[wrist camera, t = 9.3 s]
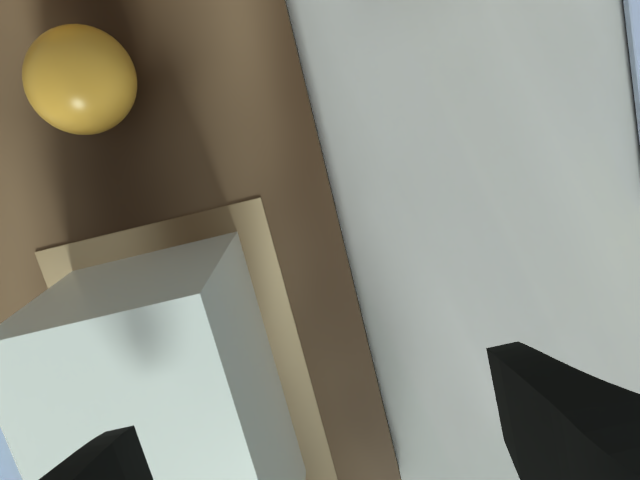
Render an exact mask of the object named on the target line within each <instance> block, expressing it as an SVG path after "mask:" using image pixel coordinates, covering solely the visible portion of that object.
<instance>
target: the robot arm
mask: <svg viewBox="0 0 640 480" xmlns="http://www.w3.org/2000/svg"><path fill="white" fill-rule="evenodd" d="M623 3H624V12H625V20H626V29H627V38H628V47H629V55H630V64H631V73H632V82H633V90H634V99H635V108H636V116H637V125H638V134H639V143H640V0H623ZM486 349H487V354H488V359H489V364H490V369H491V375H492V380H493V385H494V390H495V395H496V401H497V406H498V411H499V416H500V421H501V427H502V432H503V437H504V441H505V444H506V446H507V448H508V451H509V453H510V456H511V458H512V461H513V463H514V466H515V468H516V471H517V473H518V475H519V478H520V480H640V394H638V393H635V392H632V391H629V390H627V389H624V388H621V387H619V386H616V385H614V384H611V383H608V382H606V381H603V380H601V379H598V378H596V377H594V376H591V375H589V374H587V373H584V372H582V371H580V370H578V369H575V368H573V367H571V366H569V365H567V364H565V363H563V362H560V361H558V360H556V359H554V358H552V357H550V356H548V355H546V354H544V353H542V352H540V351H538V350H536V349H534V348H532V347H529V346H527V345H525V344H523V343H520V342H514V343H509V344H504V345H500V346H495V347H491V348H486ZM39 480H153V477H152V474H151V471H150V469H149V466H148V463H147V460H146V458H145V455H144V452H143V449H142V446H141V444H140V441H139V438H138V435H137V433H136V430H135V427H134V425H133V426H129V427H124V428H120V429H115V430H110V431H106V432H104V433H102V434H100V435H99V436H97V437H95V438H94V439H92V440H91V441H89V442H88V443H86V444H85V445H84V446H82V447H81V448H79V449H78V450H77V451H75V452H74V453H73V454H71V455H70V456H69V457H67V458H66V459H65V460H63V461H62V462H61V463H60V464H58V465H57V466H56V467H54V468H53V469H52V470H50V471H49V472H48V473H47V474H45V475H44V476H43V477H41V478H40V479H39Z"/></svg>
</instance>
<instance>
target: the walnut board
mask: <svg viewBox="0 0 640 480" xmlns="http://www.w3.org/2000/svg"><path fill="white" fill-rule="evenodd" d="M66 24H82V25H88V26H92V27H95V28H97V29H100V30H102V31H104V32H106V33H108V34H109V35H110V36H112V37H113V38H114V39H116V40H117V41H118V42H119V43H120V44H121V45H122V46H123V48H124V49H125V50H126V51H127V53H128V54H129V56H130V58H131V60H132V62H133V65H134V67H135V71H136V75H137V94H136V98H135V102H134V104H133V106H132V108H131V110H130V112H129V113H128V115H127V116H126V117H125V118H124V119H123V120H122V121H121V122H120V123H119V124H118V125H116V126H115V127H113V128H111V129H109V130H107V131H105V132H102V133H98V134H93V135H77V134H72V133H68V132H65V131H62V130H59V129H57V128H55V127H53V126H52V125H50V124H49V123H47V122H46V121H45V120H44V119H43V118H41V117H40V116H39V115H38V114H37V112H36V111H35V110H34V109H33V107H32V106H31V104H30V102H29V101H28V99H27V96H26V94H25V91H24V88H23V82H22V65H23V61H24V58H25V55H26V53H27V51H28V49H29V47H30V46H31V44H32V43H33V42H34V41H35V40H36V39H37V38H38V37H39V36H40V35H41V34H43V33H44V32H46V31H48V30H49V29H51V28H54V27H57V26H60V25H66ZM233 232H238V236H239V239H240V243H241V246H242V250H243V253H244V257H245V260H246V264H247V267H248V271H249V274H250V278H251V281H252V284H253V288H254V291H255V295H256V298H257V302H258V305H259V309H260V312H261V316H262V319H263V323H264V326H265V330H266V333H267V337H268V340H269V344H270V347H271V351H272V354H273V358H274V361H275V364H276V368H277V371H278V375H279V378H280V382H281V385H282V389H283V392H284V396H285V399H286V403H287V406H288V410H289V413H290V417H291V420H292V424H293V427H294V431H295V434H296V438H297V441H298V444H299V448H300V451H301V455H302V458H303V462H304V465H305V469H306V479H305V480H401V476H400V471H399V467H398V463H397V459H396V455H395V451H394V446H393V442H392V438H391V434H390V430H389V426H388V422H387V418H386V413H385V409H384V405H383V401H382V397H381V393H380V389H379V385H378V380H377V376H376V372H375V368H374V364H373V360H372V356H371V352H370V348H369V343H368V339H367V335H366V331H365V327H364V323H363V319H362V315H361V310H360V306H359V302H358V298H357V294H356V290H355V286H354V282H353V277H352V273H351V269H350V265H349V261H348V257H347V253H346V249H345V244H344V240H343V236H342V232H341V228H340V224H339V220H338V216H337V211H336V207H335V203H334V199H333V195H332V191H331V187H330V183H329V179H328V174H327V170H326V166H325V162H324V158H323V154H322V150H321V146H320V141H319V137H318V133H317V129H316V125H315V121H314V117H313V113H312V108H311V104H310V100H309V96H308V92H307V88H306V84H305V80H304V75H303V71H302V67H301V63H300V59H299V55H298V51H297V47H296V43H295V38H294V34H293V30H292V26H291V22H290V18H289V14H288V10H287V5H286V1H285V0H0V324H1V323H2V322H3V321H5V320H6V319H8V318H9V317H10V316H12V315H13V314H14V313H16V312H17V311H18V310H20V309H21V308H23V307H24V306H25V305H27V304H28V303H29V302H31V301H32V300H34V299H35V298H36V297H38V296H39V295H40V294H42V293H43V292H44V291H46V290H47V289H49V288H50V287H51V286H53V285H54V284H55V283H57V282H58V281H59V280H61V279H62V278H64V277H65V276H66V275H68V274H69V273H70V272H72V271H75V270H79V269H83V268H87V267H91V266H95V265H100V264H104V263H108V262H112V261H116V260H120V259H125V258H129V257H133V256H137V255H141V254H145V253H150V252H154V251H158V250H162V249H166V248H170V247H175V246H179V245H183V244H187V243H191V242H195V241H199V240H204V239H208V238H212V237H216V236H220V235H224V234H229V233H233Z"/></svg>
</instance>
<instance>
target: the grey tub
mask: <svg viewBox="0 0 640 480" xmlns="http://www.w3.org/2000/svg"><path fill="white" fill-rule="evenodd" d="M133 425H134V427H135V430H136V433H137V435H138V438H139V441H140V444H141V446H142V449H143V452H144V455H145V458H146V460H147V463H148V466H149V469H150V471H151V474H152V477H153V480H305V479H306V469H305V465H304V462H303V458H302V455H301V451H300V448H299V444H298V441H297V438H296V434H295V431H294V427H293V424H292V420H291V417H290V413H289V410H288V406H287V403H286V399H285V396H284V392H283V389H282V385H281V382H280V378H279V375H278V371H277V368H276V364H275V361H274V358H273V354H272V351H271V347H270V344H269V340H268V337H267V333H266V330H265V326H264V323H263V319H262V316H261V312H260V309H259V305H258V302H257V298H256V295H255V291H254V288H253V284H252V281H251V278H250V274H249V271H248V267H247V264H246V260H245V257H244V253H243V250H242V246H241V243H240V239H239V236H238V232H233V233H229V234H224V235H220V236H216V237H212V238H208V239H204V240H199V241H195V242H191V243H187V244H183V245H179V246H175V247H170V248H166V249H162V250H158V251H154V252H150V253H145V254H141V255H137V256H133V257H129V258H125V259H120V260H116V261H112V262H108V263H104V264H100V265H95V266H91V267H87V268H83V269H79V270H75V271H72V272H70V273H69V274H68V275H66V276H65V277H64V278H62V279H61V280H59V281H58V282H57V283H55V284H54V285H53V286H51V287H50V288H49V289H47V290H46V291H44V292H43V293H42V294H40V295H39V296H38V297H36V298H35V299H34V300H32V301H31V302H29V303H28V304H27V305H25V306H24V307H23V308H21V309H20V310H18V311H17V312H16V313H14V314H13V315H12V316H10V317H9V318H8V319H6V320H5V321H3V322H2V323H1V324H0V427H1V429H2V432H3V434H4V437H5V439H6V441H7V444H8V446H9V448H10V451H11V453H12V456H13V458H14V460H15V463H16V465H17V467H18V470H19V472H20V475H21V477H22V479H23V480H39V479H40V478H41V477H43V476H44V475H45V474H47V473H48V472H49V471H50V470H52V469H53V468H54V467H56V466H57V465H58V464H60V463H61V462H62V461H63V460H65V459H66V458H67V457H69V456H70V455H71V454H73V453H74V452H75V451H77V450H78V449H79V448H81V447H82V446H84V445H85V444H86V443H88V442H89V441H91V440H92V439H94V438H95V437H97V436H99V435H100V434H102V433H104V432H106V431H110V430H115V429H120V428H124V427H129V426H133Z"/></svg>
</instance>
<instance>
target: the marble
mask: <svg viewBox="0 0 640 480" xmlns="http://www.w3.org/2000/svg"><path fill="white" fill-rule="evenodd" d="M22 82H23V88H24V91H25V94H26V96H27V99H28V101H29V102H30V104H31V106H32V107H33V109H34V110H35V111H36V112H37V114H38V115H39V116H40V117H41V118H43V119H44V120H45V121H46V122H47V123H49V124H50V125H52V126H53V127H55V128H57V129H59V130H62V131H65V132H68V133H72V134H77V135H93V134H98V133H102V132H105V131H107V130H109V129H111V128H113V127H115V126H116V125H118V124H119V123H120V122H121V121H122V120H123V119H124V118H125V117H126V116H127V115H128V113H129V112H130V110H131V108H132V106H133V104H134V102H135V98H136V94H137V75H136V71H135V67H134V65H133V62H132V60H131V58H130V56H129V54H128V53H127V51H126V50H125V49H124V48H123V46H122V45H121V44H120V43H119V42H118V41H117V40H116V39H114V38H113V37H112V36H110V35H109V34H108V33H106V32H104V31H102V30H100V29H97V28H95V27H92V26H88V25H82V24H66V25H60V26H57V27H54V28H51V29H49V30H48V31H46V32H44V33H43V34H41V35H40V36H39V37H38V38H37V39H36V40H35V41H34V42H33V43H32V44H31V46H30V47H29V49H28V51H27V53H26V55H25V58H24V61H23V65H22Z"/></svg>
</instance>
